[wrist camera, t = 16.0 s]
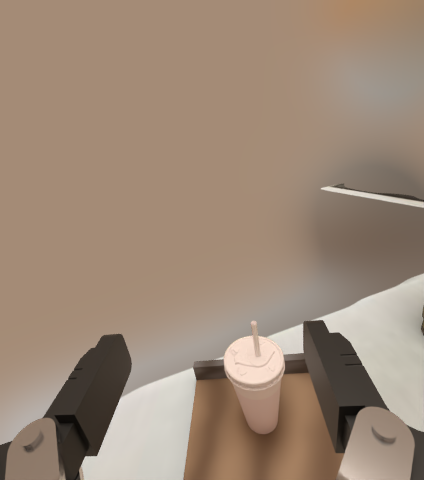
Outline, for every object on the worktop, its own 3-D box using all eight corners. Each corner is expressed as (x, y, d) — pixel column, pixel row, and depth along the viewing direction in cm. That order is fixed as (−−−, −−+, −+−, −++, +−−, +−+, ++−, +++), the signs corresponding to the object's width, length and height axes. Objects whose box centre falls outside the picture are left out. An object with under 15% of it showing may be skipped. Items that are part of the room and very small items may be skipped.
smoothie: (299, 439, 28) (292, 339, 23) (242, 454, 27) (222, 356, 22) (277, 387, 34) (268, 299, 29) (230, 399, 33) (212, 311, 28)
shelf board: (185, 494, 26) (177, 471, 25) (199, 379, 39) (194, 360, 37) (360, 492, 24) (362, 467, 23) (316, 371, 37) (315, 350, 35)
